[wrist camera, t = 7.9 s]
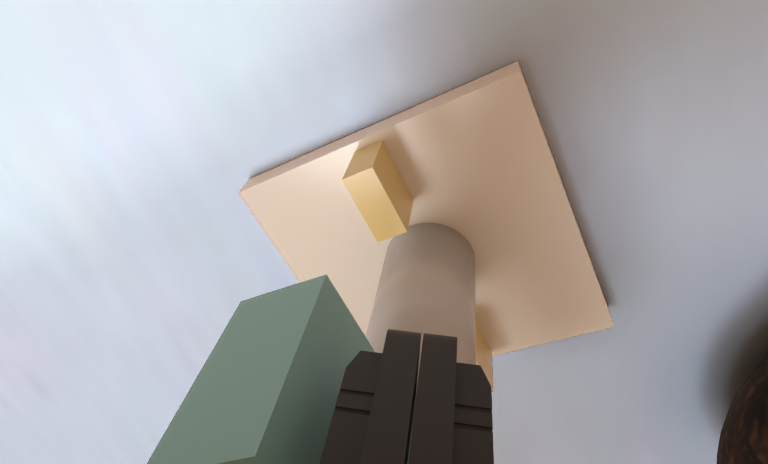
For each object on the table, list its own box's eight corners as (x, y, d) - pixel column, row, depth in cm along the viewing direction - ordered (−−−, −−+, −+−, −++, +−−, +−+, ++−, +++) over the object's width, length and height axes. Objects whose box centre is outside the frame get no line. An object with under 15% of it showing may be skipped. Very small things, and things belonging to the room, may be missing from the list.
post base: (374, 367, 33) (338, 540, 24) (249, 178, 27) (138, 315, 18) (608, 307, 28) (671, 496, 19) (517, 60, 22) (548, 168, 13)
